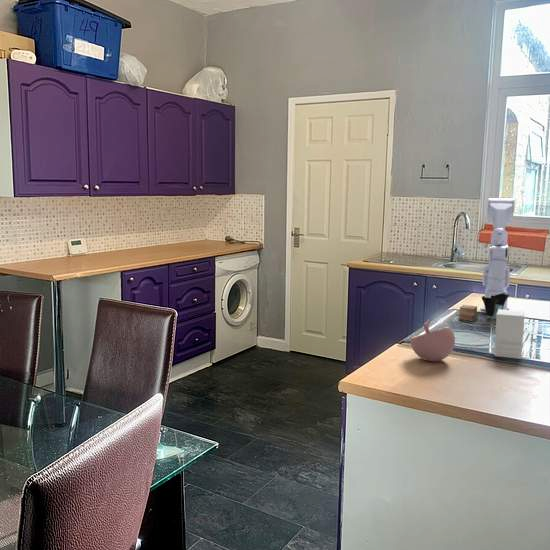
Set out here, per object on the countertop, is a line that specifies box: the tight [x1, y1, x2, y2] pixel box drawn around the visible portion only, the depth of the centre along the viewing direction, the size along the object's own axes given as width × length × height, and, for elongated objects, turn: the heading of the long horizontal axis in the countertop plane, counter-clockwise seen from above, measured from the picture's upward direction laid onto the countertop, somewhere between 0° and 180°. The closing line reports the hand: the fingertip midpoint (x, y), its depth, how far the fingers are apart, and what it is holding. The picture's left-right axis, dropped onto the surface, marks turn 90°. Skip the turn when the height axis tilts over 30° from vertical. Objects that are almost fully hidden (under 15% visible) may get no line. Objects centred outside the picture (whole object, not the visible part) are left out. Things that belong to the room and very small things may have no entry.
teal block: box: [486, 304, 502, 320], centre depth 208 cm, size 4×4×5 cm
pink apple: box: [409, 319, 456, 362], centre depth 157 cm, size 12×12×12 cm
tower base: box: [458, 312, 479, 322], centre depth 207 cm, size 5×5×2 cm
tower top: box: [459, 304, 478, 316], centre depth 207 cm, size 5×5×2 cm
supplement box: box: [494, 309, 525, 360], centre depth 163 cm, size 7×7×13 cm
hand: (494, 314), depth 209 cm, fingers open, 7 cm apart
